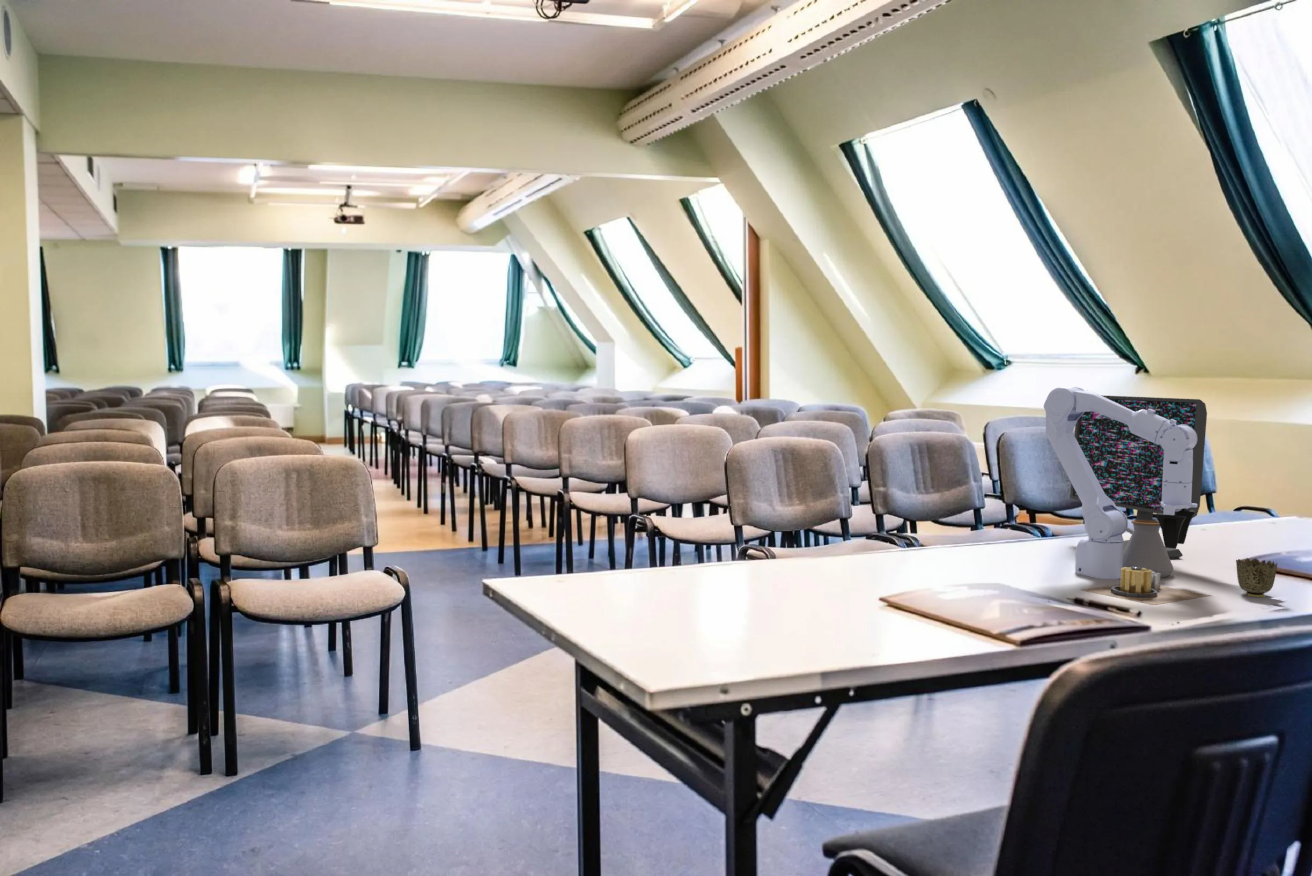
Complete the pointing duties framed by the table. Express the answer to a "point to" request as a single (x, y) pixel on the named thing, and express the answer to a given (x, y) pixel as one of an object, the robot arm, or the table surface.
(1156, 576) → the sun gear
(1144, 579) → the planet gear
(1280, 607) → the table surface
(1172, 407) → the computer monitor
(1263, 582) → the cup
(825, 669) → the table surface
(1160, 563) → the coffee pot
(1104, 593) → the carrier plate
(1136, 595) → the ring
